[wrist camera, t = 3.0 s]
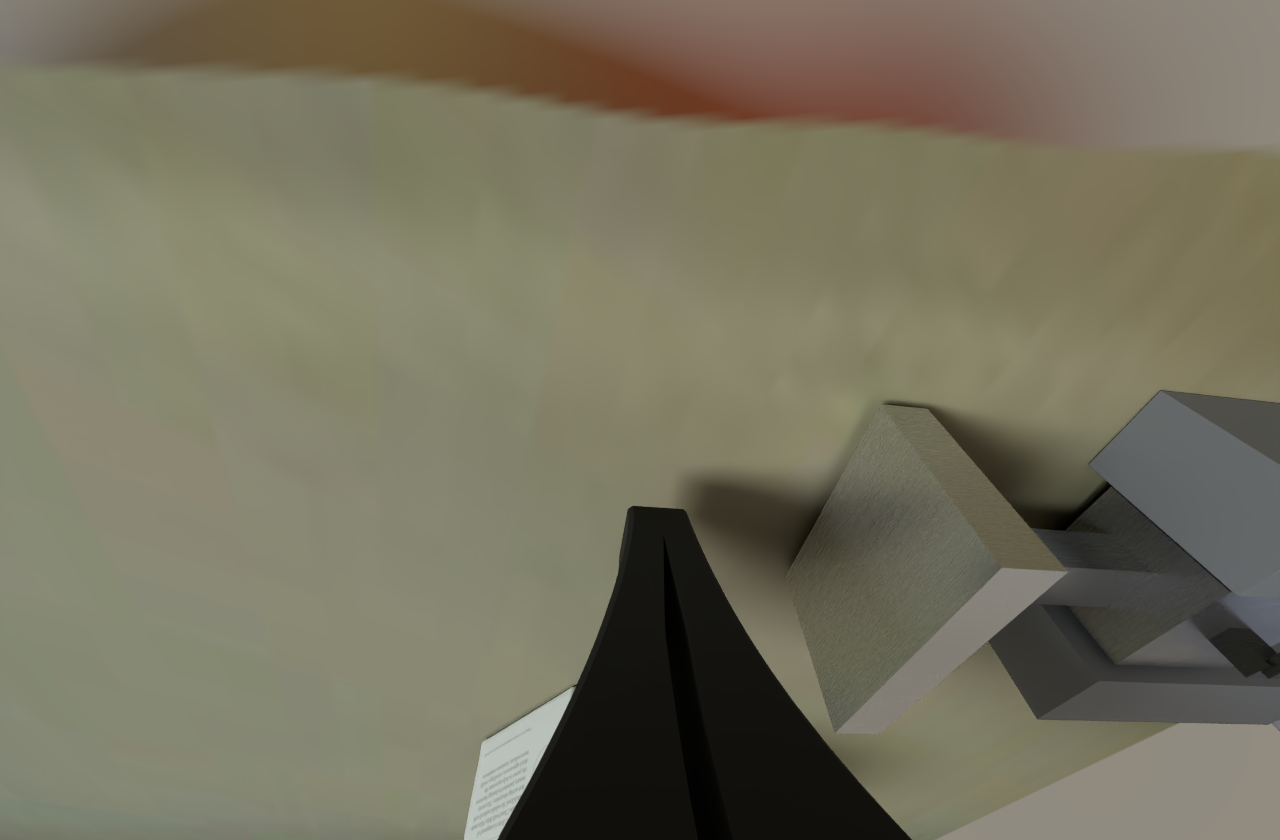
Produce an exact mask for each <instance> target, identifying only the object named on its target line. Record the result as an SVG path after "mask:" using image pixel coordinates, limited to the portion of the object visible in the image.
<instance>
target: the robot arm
mask: <svg viewBox="0 0 1280 840" xmlns="http://www.w3.org/2000/svg"><path fill="white" fill-rule="evenodd" d="M1272 724H1273V725H1274V726H1275V727H1276V728H1277V729H1278V730H1279V731H1280V720H1278V721H1275V722H1273V723H1272ZM497 840H912V839H911V838H910V837H909V836H908V835H907V834H906V833H905V832H904V831H903V830H902V829H901V828H900V826H899V825H898V824H897V823H896V822H895V821H894V820H893V819H892V818H891V817H890V816H889V815H888V814H887V813H886V811H885V810H884V809H883V808H882V807H881V806H880V805H879V804H878V803H877V802H876V800H875V799H874V798H873V797H872V796H871V795H870V794H869V793H868V792H867V790H866V789H865V788H864V787H863V786H862V785H861V784H860V783H859V782H858V780H857V779H856V778H855V777H854V776H853V774H852V773H851V772H850V771H849V770H848V769H847V767H846V766H845V765H844V764H843V763H842V762H841V760H840V759H839V758H838V757H837V756H836V755H835V753H834V752H833V751H832V750H831V749H830V747H829V746H828V745H827V744H826V742H825V741H824V740H823V739H822V737H821V736H820V735H819V733H818V732H817V731H816V730H815V728H814V727H813V726H812V725H811V723H810V722H809V721H808V720H807V718H806V717H805V716H804V714H803V713H802V712H801V711H800V709H799V708H798V707H797V706H796V704H795V703H794V702H793V700H792V699H791V698H790V696H789V695H788V693H787V692H786V691H785V689H784V688H783V686H782V685H781V684H780V682H779V681H778V680H777V678H776V677H775V675H774V674H773V672H772V671H771V669H770V668H769V667H768V665H767V664H766V662H765V661H764V659H763V658H762V656H761V655H760V653H759V652H758V650H757V649H756V647H755V645H754V644H753V642H752V641H751V639H750V637H749V636H748V634H747V633H746V631H745V629H744V628H743V626H742V624H741V623H740V621H739V619H738V617H737V616H736V614H735V612H734V611H733V609H732V607H731V605H730V604H729V602H728V600H727V598H726V596H725V594H724V592H723V591H722V589H721V587H720V585H719V583H718V581H717V579H716V577H715V575H714V573H713V571H712V569H711V567H710V565H709V563H708V561H707V559H706V557H705V555H704V553H703V551H702V549H701V546H700V544H699V542H698V540H697V537H696V535H695V533H694V530H693V528H692V525H691V523H690V520H689V518H688V515H687V513H686V512H685V511H684V510H683V509H671V508H657V507H642V506H632V507H630V508H629V509H628V511H627V517H626V522H625V528H624V533H623V539H622V544H621V550H620V556H619V571H618V576H617V579H616V583H615V586H614V590H613V593H612V596H611V599H610V602H609V605H608V607H607V610H606V613H605V616H604V619H603V622H602V625H601V627H600V630H599V633H598V635H597V638H596V640H595V643H594V646H593V648H592V650H591V653H590V655H589V658H588V660H587V663H586V665H585V667H584V670H583V672H582V674H581V676H580V679H579V681H578V683H577V685H576V688H575V690H574V692H573V694H572V697H571V699H570V701H569V703H568V705H567V707H566V709H565V712H564V714H563V716H562V718H561V720H560V722H559V724H558V726H557V728H556V730H555V732H554V734H553V736H552V738H551V740H550V742H549V744H548V746H547V748H546V750H545V752H544V754H543V756H542V758H541V760H540V762H539V764H538V766H537V768H536V769H535V771H534V773H533V775H532V777H531V779H530V781H529V783H528V784H527V786H526V788H525V790H524V792H523V793H522V795H521V797H520V799H519V801H518V803H517V804H516V806H515V808H514V810H513V812H512V813H511V815H510V817H509V819H508V821H507V822H506V824H505V826H504V828H503V830H502V831H501V833H500V835H499V837H498V839H497Z"/></svg>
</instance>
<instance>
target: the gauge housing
mask: <svg viewBox="0 0 1280 840" xmlns="http://www.w3.org/2000/svg"><path fill="white" fill-rule="evenodd" d="M1089 466H1090V467H1091V468H1093V469H1094V470H1095V471H1096V472H1097V473H1098V474H1099V475H1101V476H1102V477H1103V478H1104V479H1105V480H1106V481H1107V482H1108V483H1110V484H1111V485H1112V486H1113V487H1114V488H1115V489H1116V490H1118V491H1119V492H1120V493H1121V494H1122V495H1123V496H1124V497H1126V498H1127V499H1128V500H1129V501H1130V502H1131V503H1132V504H1133V505H1135V506H1136V507H1137V508H1138V509H1139V510H1140V511H1141V512H1143V513H1144V514H1145V515H1146V516H1147V517H1148V518H1149V519H1151V520H1152V521H1153V522H1154V523H1155V524H1156V525H1157V526H1158V527H1160V528H1161V529H1162V530H1163V531H1164V532H1165V533H1166V534H1168V535H1169V536H1170V537H1171V538H1172V539H1173V540H1174V541H1175V542H1177V543H1178V544H1179V545H1180V546H1181V547H1182V548H1183V549H1185V550H1186V551H1187V552H1188V553H1189V554H1190V555H1191V556H1193V557H1194V558H1195V559H1196V560H1197V561H1198V562H1199V563H1200V564H1202V565H1203V566H1204V567H1205V568H1206V569H1207V570H1208V571H1210V572H1211V573H1212V574H1213V575H1214V576H1215V577H1216V578H1218V579H1219V580H1220V581H1221V582H1222V583H1223V584H1224V585H1225V586H1227V587H1228V588H1229V589H1230V590H1231V591H1232V592H1233V593H1235V594H1236V595H1237V596H1251V597H1268V598H1280V404H1279V403H1270V402H1261V401H1252V400H1242V399H1233V398H1224V397H1215V396H1206V395H1197V394H1188V393H1178V392H1169V391H1160V392H1159V393H1158V394H1157V395H1156V396H1155V397H1154V398H1153V399H1152V400H1151V401H1150V402H1149V403H1148V404H1147V405H1146V406H1145V407H1144V408H1143V409H1142V410H1141V411H1140V412H1139V413H1138V414H1137V416H1136V417H1135V418H1134V419H1133V420H1132V421H1131V422H1130V423H1129V424H1128V425H1127V426H1126V427H1125V428H1124V429H1123V430H1122V431H1121V432H1120V433H1119V434H1118V435H1117V436H1116V437H1115V438H1114V439H1113V440H1112V441H1111V442H1110V443H1109V444H1108V445H1107V446H1106V447H1105V448H1104V449H1103V450H1102V451H1101V452H1100V453H1099V454H1098V455H1097V456H1096V457H1095V458H1094V459H1093V460H1092V461H1091V463H1090V464H1089ZM988 641H989V643H990V644H991V646H992V648H993V649H994V651H995V652H996V654H997V656H998V657H999V659H1000V660H1001V662H1002V664H1003V665H1004V667H1005V668H1006V670H1007V672H1008V673H1009V675H1010V676H1011V678H1012V680H1013V681H1014V683H1015V684H1016V686H1017V688H1018V689H1019V691H1020V692H1021V694H1022V696H1023V697H1024V699H1025V700H1026V702H1027V704H1028V705H1029V707H1030V708H1031V710H1032V712H1033V713H1034V715H1035V716H1036V718H1037V719H1041V720H1085V721H1130V722H1174V723H1219V724H1264V725H1268V724H1271V723H1273V722H1275V721H1278V720H1280V679H1262V678H1246V677H1245V676H1244V675H1243V674H1242V673H1241V672H1240V671H1239V670H1238V669H1237V668H1236V667H1235V666H1233V667H1231V668H1229V669H1218V668H1191V667H1164V666H1137V665H1115V664H1114V663H1113V662H1112V660H1111V659H1110V658H1109V657H1108V655H1107V654H1106V653H1105V652H1104V650H1103V649H1102V648H1101V647H1100V645H1099V644H1098V643H1097V642H1096V641H1095V639H1094V638H1093V637H1092V636H1091V634H1090V633H1089V632H1088V631H1087V629H1086V628H1085V627H1084V626H1083V624H1082V623H1081V622H1080V621H1079V619H1078V618H1077V617H1076V616H1075V615H1074V613H1073V612H1072V611H1071V610H1070V608H1069V607H1068V606H1067V605H1049V604H1030V605H1029V606H1028V607H1027V608H1026V609H1024V610H1023V611H1022V612H1021V613H1020V614H1019V615H1017V616H1016V617H1015V618H1014V619H1013V620H1012V621H1010V622H1009V623H1008V624H1007V625H1006V626H1005V627H1004V628H1002V629H1001V630H1000V631H999V632H998V633H997V634H995V635H994V636H993V637H992V638H991V639H990V640H988ZM1271 648H1272V649H1274V650H1275V651H1276V652H1277V653H1280V642H1279V643H1277V644H1275V645H1273V646H1271Z"/></svg>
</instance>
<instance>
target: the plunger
mask: <svg viewBox="0 0 1280 840" xmlns="http://www.w3.org/2000/svg"><path fill="white" fill-rule="evenodd" d="M786 579H787V583H788V586H789V589H790V592H791V595H792V598H793V602H794V605H795V608H796V611H797V614H798V618H799V621H800V624H801V627H802V630H803V634H804V637H805V640H806V643H807V646H808V649H809V653H810V656H811V659H812V662H813V665H814V669H815V672H816V675H817V678H818V681H819V685H820V688H821V691H822V694H823V697H824V700H825V704H826V707H827V710H828V713H829V716H830V720H831V723H832V726H833V729H834V732H835V733H843V734H880V733H881V732H883V731H884V730H885V729H886V728H887V727H888V726H890V725H891V724H892V723H893V722H894V721H895V720H896V719H898V718H899V717H900V716H901V715H902V714H903V713H905V712H906V711H907V710H908V709H909V708H910V707H912V706H913V705H914V704H915V703H916V702H917V701H919V700H920V699H921V698H922V697H923V696H924V695H926V694H927V693H928V692H929V691H930V690H931V689H933V688H934V687H935V686H936V685H937V684H938V683H940V682H941V681H942V680H943V679H944V678H945V677H947V676H948V675H949V674H950V673H951V672H952V671H953V670H955V669H956V668H957V667H958V666H959V665H960V664H962V663H963V662H964V661H965V660H966V659H967V658H969V657H970V656H971V655H972V654H973V653H974V652H976V651H977V650H978V649H979V648H980V647H981V646H983V645H984V644H985V643H986V642H987V641H988V640H990V639H991V638H992V637H993V636H994V635H995V634H997V633H998V632H999V631H1000V630H1001V629H1002V628H1004V627H1005V626H1006V625H1007V624H1008V623H1009V622H1010V621H1012V620H1013V619H1014V618H1015V617H1016V616H1017V615H1019V614H1020V613H1021V612H1022V611H1023V610H1024V609H1026V608H1027V607H1028V606H1029V605H1030V604H1049V605H1067V606H1068V607H1069V608H1070V610H1071V611H1072V612H1073V613H1074V615H1075V616H1076V617H1077V618H1078V619H1079V621H1080V622H1081V623H1082V624H1083V626H1084V627H1085V628H1086V629H1087V631H1088V632H1089V633H1090V634H1091V636H1092V637H1093V638H1094V639H1095V641H1096V642H1097V643H1098V644H1099V645H1100V647H1101V648H1102V649H1103V650H1104V652H1105V653H1106V654H1107V655H1108V657H1109V658H1110V659H1111V660H1112V662H1113V663H1114V664H1115V665H1137V666H1164V667H1191V668H1218V669H1229V668H1231V667H1233V666H1235V667H1236V668H1237V669H1238V670H1239V671H1240V672H1241V673H1242V674H1243V675H1244V676H1245V677H1246V678H1262V679H1280V653H1277V652H1276V651H1275V650H1274V649H1272V648H1271V646H1273V645H1275V644H1277V643H1279V642H1280V598H1268V597H1251V596H1237V595H1236V594H1235V593H1233V592H1232V591H1231V590H1230V589H1229V588H1228V587H1227V586H1225V585H1224V584H1223V583H1222V582H1221V581H1220V580H1219V579H1218V578H1216V577H1215V576H1214V575H1213V574H1212V573H1211V572H1210V571H1208V570H1207V569H1206V568H1205V567H1204V566H1203V565H1202V564H1200V563H1199V562H1198V561H1197V560H1196V559H1195V558H1194V557H1193V556H1191V555H1190V554H1189V553H1188V552H1187V551H1186V550H1185V549H1183V548H1182V547H1181V546H1180V545H1179V544H1178V543H1177V542H1175V541H1174V540H1173V539H1172V538H1171V537H1170V536H1169V535H1168V534H1166V533H1165V532H1164V531H1163V530H1162V529H1161V528H1160V527H1158V526H1157V525H1156V524H1155V523H1154V522H1153V521H1152V520H1151V519H1149V518H1148V517H1147V516H1146V515H1145V514H1144V513H1143V512H1141V511H1140V510H1139V509H1138V508H1137V507H1136V506H1135V505H1133V504H1132V503H1131V502H1130V501H1129V500H1128V499H1127V498H1126V497H1124V496H1123V495H1122V494H1121V493H1120V492H1119V491H1118V490H1116V489H1115V488H1114V487H1110V488H1109V489H1108V490H1107V491H1106V492H1105V493H1104V494H1103V495H1102V496H1101V497H1100V498H1099V499H1097V500H1096V501H1095V502H1094V503H1093V504H1092V505H1091V506H1090V507H1089V508H1088V509H1087V510H1086V511H1085V512H1084V513H1083V514H1082V515H1081V516H1079V517H1078V518H1077V519H1076V520H1075V521H1074V522H1073V523H1072V524H1071V525H1070V526H1069V527H1068V528H1067V529H1066V530H1065V531H1063V530H1048V529H1034V528H1030V527H1029V526H1028V525H1027V523H1026V522H1025V521H1024V520H1023V519H1022V518H1021V516H1020V515H1019V514H1018V513H1017V512H1016V511H1015V509H1014V508H1013V507H1012V506H1011V505H1010V504H1009V503H1008V501H1007V500H1006V499H1005V498H1004V497H1003V496H1002V494H1001V493H1000V492H999V491H998V490H997V489H996V487H995V486H994V485H993V484H992V483H991V482H990V480H989V479H988V478H987V477H986V476H985V475H984V474H983V472H982V471H981V470H980V469H979V468H978V467H977V465H976V464H975V463H974V462H973V461H972V460H971V458H970V457H969V456H968V455H967V454H966V453H965V451H964V450H963V449H962V448H961V447H960V446H959V445H958V443H957V442H956V441H955V440H954V439H953V438H952V436H951V435H950V434H949V433H948V432H947V431H946V429H945V428H944V427H943V426H942V425H941V424H940V422H939V421H938V420H937V419H936V418H935V417H934V416H933V414H932V413H931V412H930V411H929V410H928V409H924V408H913V407H903V406H893V405H883V404H881V405H880V407H879V409H878V411H877V412H876V414H875V416H874V418H873V420H872V421H871V423H870V425H869V427H868V429H867V431H866V432H865V434H864V436H863V438H862V440H861V441H860V443H859V445H858V447H857V449H856V450H855V452H854V454H853V456H852V458H851V459H850V461H849V463H848V465H847V467H846V468H845V470H844V472H843V474H842V476H841V477H840V479H839V481H838V483H837V485H836V487H835V488H834V490H833V492H832V494H831V496H830V497H829V499H828V501H827V503H826V505H825V506H824V508H823V510H822V512H821V514H820V515H819V517H818V519H817V521H816V523H815V524H814V526H813V528H812V530H811V532H810V534H809V535H808V537H807V539H806V541H805V543H804V544H803V546H802V548H801V550H800V552H799V553H798V555H797V557H796V559H795V561H794V562H793V564H792V566H791V568H790V570H789V571H788V573H787V575H786Z"/></svg>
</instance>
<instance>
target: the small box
mask: <svg viewBox="0 0 1280 840" xmlns="http://www.w3.org/2000/svg"><path fill="white" fill-rule="evenodd" d="M575 688H576V686H574V687H571V688H569V689H568V690H566V691H565V692H563V693H562V694H560V695H559V696H557V697H555V698H554V699H552V700H550V701H549V702H547V703H546V704H544V705H542V706H541V707H539V708H538V709H536V710H534V711H533V712H531V713H530V714H528V715H526V716H525V717H523V718H521V719H519V720H518V721H516V722H515V723H513V724H511V725H510V726H508V727H506V728H505V729H503V730H502V731H500V732H498V733H497V734H495V735H493V736H492V737H490V738H488V739H486V740H485V741H483V743H482V746H481V752H480V758H479V763H478V768H477V773H476V778H475V783H474V788H473V793H472V798H471V803H470V809H469V815H468V820H467V825H466V830H465V836H464V840H497V839H498V837H499V835H500V833H501V831H502V830H503V828H504V826H505V824H506V822H507V821H508V819H509V817H510V815H511V813H512V812H513V810H514V808H515V806H516V804H517V803H518V801H519V799H520V797H521V795H522V793H523V792H524V790H525V788H526V786H527V784H528V783H529V781H530V779H531V777H532V775H533V773H534V771H535V769H536V768H537V766H538V764H539V762H540V760H541V758H542V756H543V754H544V752H545V750H546V748H547V746H548V744H549V742H550V740H551V738H552V736H553V734H554V732H555V730H556V728H557V726H558V724H559V722H560V720H561V718H562V716H563V714H564V712H565V709H566V707H567V705H568V703H569V701H570V699H571V697H572V694H573V692H574V690H575Z"/></svg>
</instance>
